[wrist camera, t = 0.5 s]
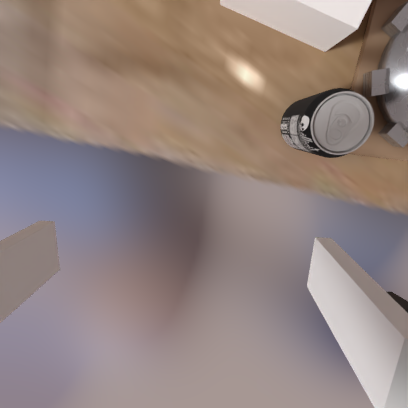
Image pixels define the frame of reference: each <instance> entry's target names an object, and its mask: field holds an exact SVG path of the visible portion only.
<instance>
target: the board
mask: <svg viewBox="0 0 408 408" xmlns="http://www.w3.org/2000/svg"><path fill="white" fill-rule="evenodd" d="M406 1H408V0H373V4H372V7H371V11H370V15H369V19H368V23H367V27H366V31H365V35H364V39H363V43H362V47H361V51H360V55H359V59H358V63H357V67H356V71H355V75H354V79H353V83H352V87H351V90H352V91H354V92H356V93H359V94H360V95H362V96H363V74H364V73H367V72H370V71H373V70H378V65H379V62H380V59H381V56H382V53H383V51H384V49H385V47H386V45H387V43H388V41H389V40H390V37H389V36H388V35H387V34H386V33H385V32H384V31H383V30H382V29H381V28H382V27H383V25H384V24H385V23H386V22H387V21H388V19H389V18H390V17H391V16H392V14H393V13H394V12H395V11H396V10H397V8H398V7H399V6H400V5H402V4H403V3H405V2H406ZM365 98H366V99H367V100H368V101H369V103H370V104H371V106H372V108H373V112H374V126H373V129H372V132H371V134H370V136H369V138H368V139H367V140H366V142H365V143H364V144H363V145H362V146H361V147H359V148H358V149H356V150H355V151H353V152H350V153H348V154H354V155H362V156H370V157H378V158H386V159H394V160H402V161H408V143H407V144H406V145H405V146H404V147H403V148H402V147H393V146H392V145H391V144H390V143H388V142H387V141H386V140H385V139H384V138H383V137H382V136H380V135H379V134H378V133H379V132H380V131H381V129H382V128H383V127H384V126H385V125H386V124H387V122H386V120H385V119H384V117H383V115H382V113H381V111H380V108H379V105H378V102H377V96H372V97H365Z"/></svg>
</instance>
